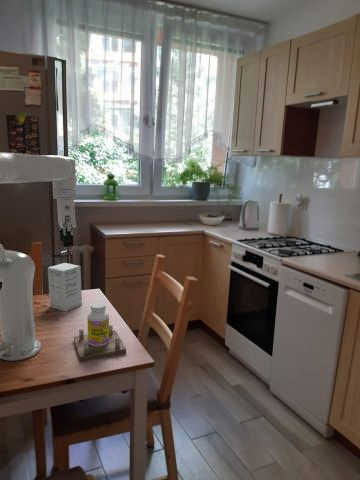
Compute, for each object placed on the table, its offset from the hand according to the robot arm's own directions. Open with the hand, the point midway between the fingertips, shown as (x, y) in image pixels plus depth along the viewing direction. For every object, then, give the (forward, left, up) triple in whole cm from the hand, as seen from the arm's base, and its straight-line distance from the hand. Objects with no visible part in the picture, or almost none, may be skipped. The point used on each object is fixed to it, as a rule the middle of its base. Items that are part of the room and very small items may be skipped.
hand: (66, 243), depth 128 cm
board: (-8, -20, -30) cm, 37 cm away
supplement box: (+13, +14, -31) cm, 36 cm away
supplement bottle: (-8, -20, -29) cm, 36 cm away
